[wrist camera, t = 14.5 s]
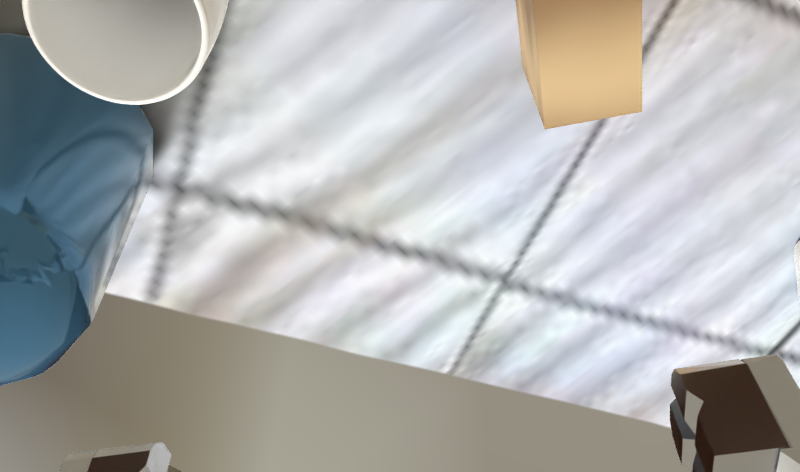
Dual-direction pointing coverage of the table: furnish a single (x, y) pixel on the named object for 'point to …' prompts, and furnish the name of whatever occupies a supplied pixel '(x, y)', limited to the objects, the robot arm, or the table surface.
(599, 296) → the table surface
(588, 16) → the wooden block
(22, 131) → the blue rounded container
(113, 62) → the cream cylinder
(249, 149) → the table surface
